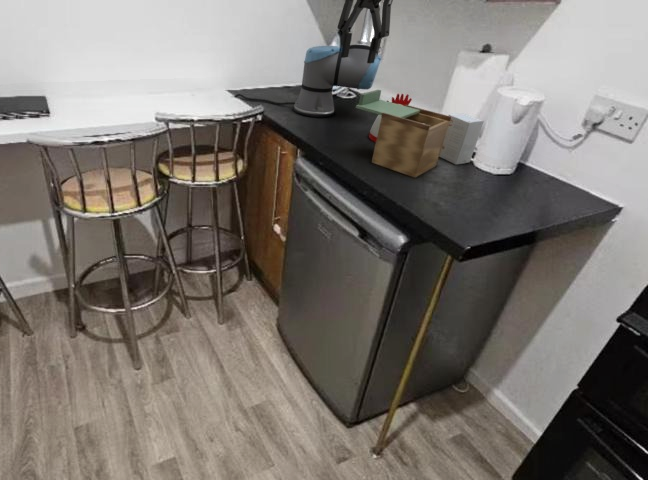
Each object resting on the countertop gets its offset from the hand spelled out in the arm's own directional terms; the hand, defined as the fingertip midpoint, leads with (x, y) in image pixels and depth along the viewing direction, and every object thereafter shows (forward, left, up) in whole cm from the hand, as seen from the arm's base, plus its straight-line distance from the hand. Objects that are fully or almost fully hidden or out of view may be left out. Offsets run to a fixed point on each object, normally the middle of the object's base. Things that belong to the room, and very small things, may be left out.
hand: (357, 59), depth 134 cm
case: (+22, 0, -25) cm, 34 cm away
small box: (+30, +17, -25) cm, 43 cm away
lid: (+13, 0, -12) cm, 17 cm away
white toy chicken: (+8, +17, -25) cm, 32 cm away
